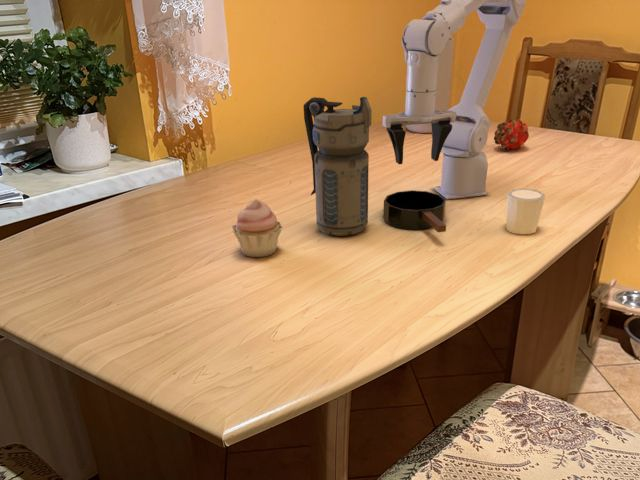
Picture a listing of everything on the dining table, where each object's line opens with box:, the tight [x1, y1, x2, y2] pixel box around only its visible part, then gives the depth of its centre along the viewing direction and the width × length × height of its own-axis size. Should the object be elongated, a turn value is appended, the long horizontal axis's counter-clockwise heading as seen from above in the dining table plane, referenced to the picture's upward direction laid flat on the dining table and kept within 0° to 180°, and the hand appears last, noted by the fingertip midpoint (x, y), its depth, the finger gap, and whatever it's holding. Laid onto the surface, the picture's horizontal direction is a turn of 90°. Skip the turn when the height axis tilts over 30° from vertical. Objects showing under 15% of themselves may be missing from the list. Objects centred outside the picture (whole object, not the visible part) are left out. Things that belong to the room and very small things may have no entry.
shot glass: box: [505, 188, 546, 235], centre depth 122 cm, size 7×7×7 cm
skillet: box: [382, 190, 447, 233], centre depth 126 cm, size 20×12×4 cm, turn 13°
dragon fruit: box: [493, 118, 530, 152], centre depth 172 cm, size 8×8×12 cm
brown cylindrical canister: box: [303, 96, 372, 237], centre depth 120 cm, size 10×13×25 cm
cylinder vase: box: [405, 36, 455, 134], centre depth 189 cm, size 12×12×25 cm
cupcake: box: [231, 199, 284, 258], centre depth 115 cm, size 9×9×10 cm
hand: (416, 161), depth 129 cm, fingers open, 7 cm apart
